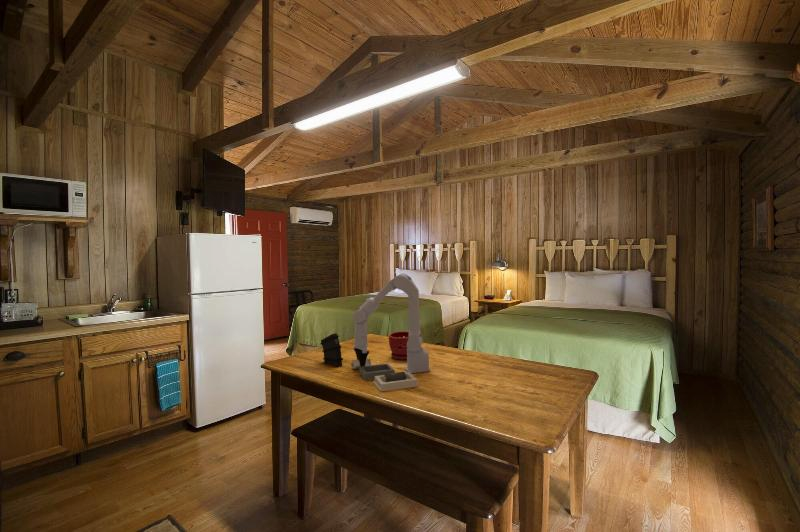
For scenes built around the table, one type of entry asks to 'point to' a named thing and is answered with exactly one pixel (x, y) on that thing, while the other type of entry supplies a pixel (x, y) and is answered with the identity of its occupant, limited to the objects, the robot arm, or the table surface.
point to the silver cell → (356, 363)
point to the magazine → (332, 350)
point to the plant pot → (399, 344)
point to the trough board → (395, 383)
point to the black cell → (395, 377)
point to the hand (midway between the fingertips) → (361, 364)
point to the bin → (375, 371)
